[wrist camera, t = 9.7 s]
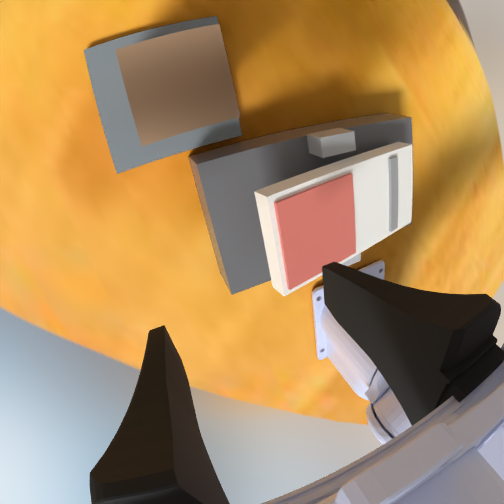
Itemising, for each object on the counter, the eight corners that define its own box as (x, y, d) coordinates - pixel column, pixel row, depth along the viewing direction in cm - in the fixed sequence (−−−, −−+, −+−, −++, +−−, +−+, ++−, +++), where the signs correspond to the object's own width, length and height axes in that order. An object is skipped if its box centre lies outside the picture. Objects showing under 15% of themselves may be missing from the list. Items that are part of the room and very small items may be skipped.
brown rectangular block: (204, 111, 18) (240, 116, 12) (139, 131, 17) (142, 146, 11) (189, 50, 16) (219, 23, 10) (122, 69, 15) (115, 49, 9)
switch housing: (390, 213, 27) (424, 232, 24) (221, 275, 24) (239, 309, 20) (386, 111, 23) (426, 119, 19) (188, 154, 19) (202, 168, 16)
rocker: (399, 216, 23) (413, 222, 22) (272, 286, 19) (286, 297, 18) (398, 141, 20) (414, 145, 19) (254, 191, 16) (269, 197, 15)
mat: (239, 134, 20) (242, 135, 19) (117, 171, 18) (117, 173, 18) (214, 18, 16) (217, 15, 15) (85, 51, 14) (83, 50, 14)
